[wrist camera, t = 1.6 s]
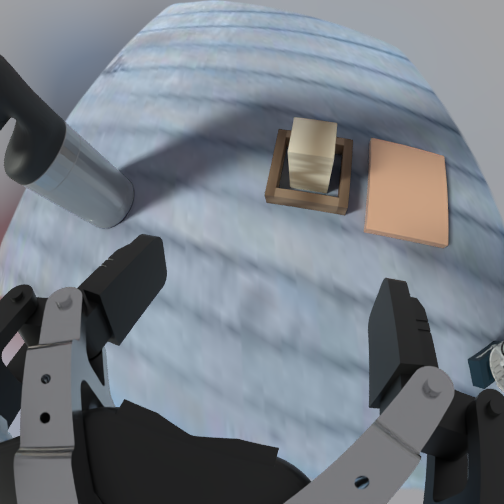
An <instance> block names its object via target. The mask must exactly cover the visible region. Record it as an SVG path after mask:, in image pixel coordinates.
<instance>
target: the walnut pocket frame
mask: <svg viewBox="0 0 504 504" xmlns="http://www.w3.org/2000/svg"><path fill="white" fill-rule="evenodd" d="M291 132H292V131H290V130H282V129H279V130H278V135H277V140H276V144H275V149H274V154H273V158H272V163H271V168H270V172H269V177H268V182H267V186H266V191H265V198H266V202H267V203H272V204H279V205H286V206H292V207H298V208H305V209H311V210H317V211H323V212H329V213H334V214H340V215H345V213H346V211H347V208H348V199H349V189H350V177H351V164H352V149H353V140H351V139H345V138H339V137H336V143H335V153H334V154H340V155H342V159H341V170H340V180H339V190H338V197H332V196H326V195H320V194H314V193H308V192H302V191H295V190H288V189H281V188H279V184H280V179H281V174H282V169H283V164H284V158H285V153H286V148H287V147H289V142H290V137H291Z"/></svg>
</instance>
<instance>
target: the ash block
mask: <svg viewBox="0 0 504 504" xmlns="http://www.w3.org/2000/svg"><path fill="white" fill-rule="evenodd" d="M336 131H337V123H333V122H327V121H320V120H313V119H305V118H297V117H294V121H293V126H292V132H291V137H290V142H289V148H288V163H289V178H290V188H296V189H303V190H309V191H315V192H321V193H327V191H328V186H329V181H330V176H331V171H332V166H333V161H334V153H335V143H336Z"/></svg>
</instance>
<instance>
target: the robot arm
mask: <svg viewBox="0 0 504 504" xmlns="http://www.w3.org/2000/svg"><path fill="white" fill-rule="evenodd" d="M11 117H12V118H14V119H16V125H15V128H14V131H13V134H12V136H11V139H10V142H9V144H8V146H7V150H6V153H5V159H4V168H5V172H6V174H7V175H8V176H9V177H10V178H11V179H12V180H14V181H16V182H17V183H19V184H21V185H23V186H24V187H26V188H28V189H29V190H31V191H33V192H35V193H36V194H38V195H40V196H42V197H43V198H45V199H47V200H49V201H51V202H52V203H54V204H56V205H58V206H59V207H61V208H63V209H65V210H67V211H68V212H70V213H72V214H74V215H76V216H78V217H79V218H81V219H83V220H85V221H87V222H89V223H91V224H92V225H94V226H96V227H98V228H102V229H105V228H110V227H113V226H115V225H116V224H118V223H119V222H120V221H121V220H122V219H123V218H124V217H125V216H126V215H127V213H128V211H129V210H130V207H131V205H132V202H133V196H134V191H133V186H132V184H131V182H130V181H129V179H127V178H126V177H125V176H124V175H123V174H122V173H121V172H120V171H119V170H117V169H116V168H115V167H114V166H113V165H112V164H111V163H110V162H109V161H108V160H106V159H105V158H104V157H103V156H102V155H101V154H100V153H99V152H98V151H97V150H95V149H94V148H93V147H92V146H91V145H90V144H89V143H88V142H87V141H86V140H84V139H83V138H82V137H81V136H80V135H79V134H78V133H77V132H76V131H75V130H74V129H72V128H71V127H70V126H69V125H68V124H67V123H66V122H65V121H64V120H63V119H62V118H61V117H60V116H58V115H57V114H56V113H55V112H54V111H53V110H52V109H51V108H50V107H49V106H48V105H47V104H46V103H45V102H44V101H43V100H42V99H41V98H40V97H39V96H38V95H37V94H36V93H35V92H34V91H33V90H32V89H31V88H30V87H29V86H28V85H27V84H26V82H25V81H24V80H23V79H22V78H21V77H20V75H19V74H18V73H17V72H16V71H15V70H14V68H13V67H12V66H11V65H10V64H9V63H8V62H7V61H6V60H5V59H4V57H3V56H1V55H0V130H1V129H2V128H3V127H4V125H5V124H6V123H7V121H8V120H9V119H10V118H11ZM166 277H167V269H166V262H165V255H164V248H163V242H162V239H161V238H160V237H157V236H151V235H145V234H141V235H139V236H138V237H137V238H136V239H135V240H134V241H133V242H131V243H130V244H128V245H126V246H124V247H122V248H120V249H118V250H117V251H116V252H114V253H113V254H112V255H111V256H110V257H109V258H108V260H106V261H105V262H104V263H103V264H102V266H99V267H98V268H97V269H96V270H95V271H94V272H93V273H92V274H91V275H90V276H89V277H88V278H87V279H86V280H85V281H84V282H83V283H82V284H81V285H80V286H79V287H78V288H75V287H65V288H62V289H59V290H57V291H56V292H54V293H53V294H52V295H51V296H50V297H49V298H39V297H36V295H35V293H34V291H33V289H32V287H31V286H29V285H19V286H16V287H14V288H13V289H11V290H10V291H9V292H8V293H7V294H6V295H5V296H4V297H3V298H2V299H1V300H0V504H387V503H388V502H389V500H390V499H391V498H392V497H393V496H394V494H395V493H396V492H397V491H398V490H399V489H400V487H401V486H402V485H403V484H404V482H405V481H406V480H407V479H408V477H409V476H410V475H411V473H412V472H413V471H414V469H415V468H416V466H417V465H418V463H419V462H420V460H421V456H420V455H419V454H420V452H423V453H426V454H427V468H426V482H425V492H424V501H423V504H504V396H503V395H502V394H501V393H500V392H499V391H497V390H494V389H486V390H483V391H482V392H481V393H480V394H479V395H478V396H477V397H476V398H475V397H472V396H470V395H467V394H464V393H461V392H459V391H457V390H454V385H453V382H452V380H451V379H450V377H449V376H448V375H447V374H446V373H445V372H444V371H443V370H441V369H439V368H438V363H437V358H436V353H435V348H434V344H433V339H432V335H431V333H430V327H429V323H428V319H427V315H426V312H425V309H424V307H423V306H422V305H421V303H420V302H419V300H418V299H417V298H413V297H410V293H409V290H408V286H407V283H406V281H401V280H395V279H390V278H385V279H384V280H383V282H382V284H381V287H380V290H379V293H378V295H377V298H376V300H375V303H374V306H373V308H372V311H371V314H370V317H369V323H368V337H369V408H380V416H379V417H378V418H377V420H376V421H375V422H374V423H373V424H372V425H371V426H370V427H369V428H368V429H367V430H366V431H365V432H364V433H363V434H362V435H361V436H360V438H359V439H358V440H357V441H356V442H355V443H354V444H353V445H352V446H351V447H350V448H349V449H348V450H346V451H345V452H344V453H343V454H342V455H341V456H340V457H339V458H338V459H337V460H336V461H335V462H334V463H333V464H332V465H330V466H329V467H328V468H327V469H326V470H325V471H324V472H322V473H321V474H320V475H319V476H318V477H317V478H315V479H314V480H313V481H312V482H311V481H310V480H309V478H308V477H307V476H306V475H305V474H304V473H303V472H301V471H300V470H299V469H298V468H296V467H295V466H294V465H292V464H290V463H289V462H287V461H285V460H283V459H281V458H279V457H277V453H278V450H279V448H276V447H271V446H266V445H261V444H257V443H253V442H248V441H244V440H240V439H229V438H211V437H198V436H192V435H190V434H188V433H186V432H185V431H183V430H182V429H180V428H179V427H177V426H175V425H174V424H172V423H171V422H170V421H168V420H167V419H165V418H164V417H162V416H161V415H159V414H158V413H156V412H153V411H151V410H149V409H146V408H144V407H141V406H139V405H137V404H134V403H132V402H130V401H127V400H125V399H124V401H123V403H122V404H121V406H120V407H115V405H114V402H113V400H112V397H111V394H110V388H109V379H108V369H107V357H106V349H105V347H104V346H105V344H106V343H107V342H111V343H113V344H116V345H118V346H119V345H120V344H121V343H122V341H123V340H124V338H125V337H126V336H127V334H128V333H129V332H130V330H131V329H132V327H133V326H134V325H135V323H136V322H137V321H138V319H139V318H140V317H141V315H142V314H143V313H144V311H145V310H146V309H147V307H148V306H149V305H150V303H151V302H152V301H153V299H154V298H155V297H156V295H157V294H158V293H159V291H160V290H161V289H162V287H163V286H164V284H165V281H166ZM17 332H19V334H20V335H21V337H22V338H23V340H24V342H25V343H24V344H23V346H22V347H21V348H20V349H19V351H18V352H17V353H16V355H15V356H14V357H13V359H12V360H11V361H10V363H9V364H8V365H7V367H6V366H5V364H4V363H3V361H2V357H1V356H2V351H3V349H4V347H6V345H7V344H8V343H9V342H10V340H11V339H12V338H13V336H14V335H15V334H16V333H17ZM20 409H21V418H20V436H18V437H15V438H12V436H11V434H10V433H9V432H8V429H9V427H10V425H11V424H12V422H13V420H14V419H15V417H16V415H17V414H18V412H19V410H20Z"/></svg>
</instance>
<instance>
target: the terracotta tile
mask: <svg viewBox="0 0 504 504" xmlns="http://www.w3.org/2000/svg"><path fill="white" fill-rule="evenodd" d="M364 232H366V233H371V234H376V235H382V236H387V237H392V238H397V239H402V240H407V241H412V242H416V243H421V244H426V245H431V246H435V247H440V248H445V247H446V246H448V198H447V182H446V170H445V160H444V156H442V155H438V154H435V153H431V152H428V151H424V150H421V149H417V148H413V147H409V146H405V145H401V144H397V143H393V142H389V141H384V140H380V139H375V138H371V140H370V143H369V168H368V187H367V202H366V214H365V225H364Z"/></svg>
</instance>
